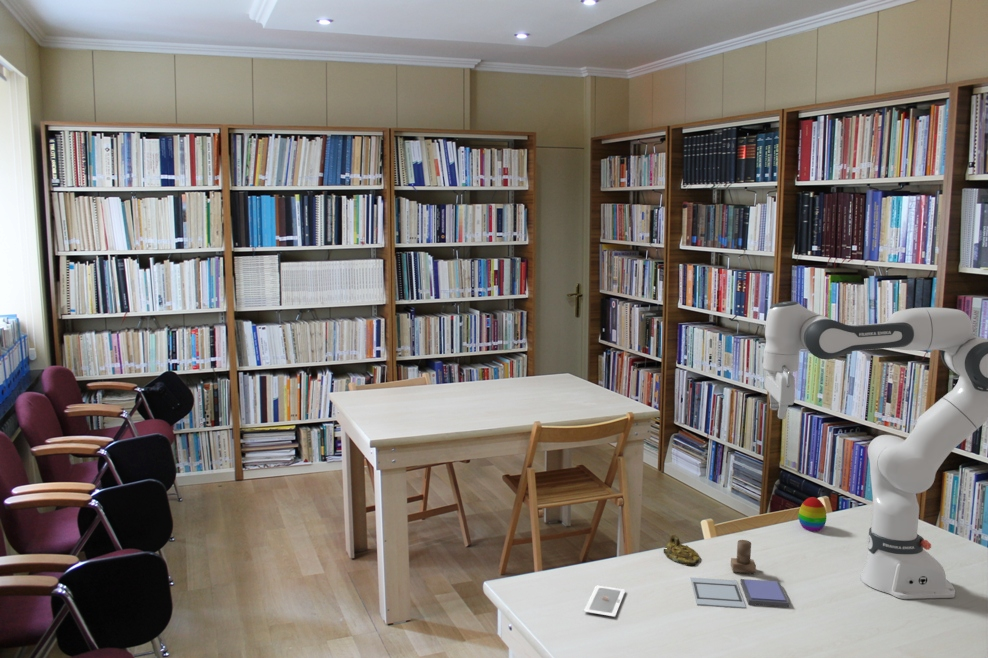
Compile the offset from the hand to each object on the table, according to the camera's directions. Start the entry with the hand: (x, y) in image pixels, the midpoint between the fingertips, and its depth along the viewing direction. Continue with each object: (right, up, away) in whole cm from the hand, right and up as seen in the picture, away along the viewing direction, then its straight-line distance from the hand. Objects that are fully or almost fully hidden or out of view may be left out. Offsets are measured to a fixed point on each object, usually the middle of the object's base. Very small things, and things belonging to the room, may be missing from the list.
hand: (777, 413), depth 214 cm
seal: (-21, -44, +19) cm, 52 cm away
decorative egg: (+25, -41, +40) cm, 62 cm away
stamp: (-6, -45, +9) cm, 46 cm away
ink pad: (-5, -47, -5) cm, 47 cm away
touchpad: (-47, -48, -9) cm, 68 cm away
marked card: (-17, -46, -4) cm, 50 cm away
